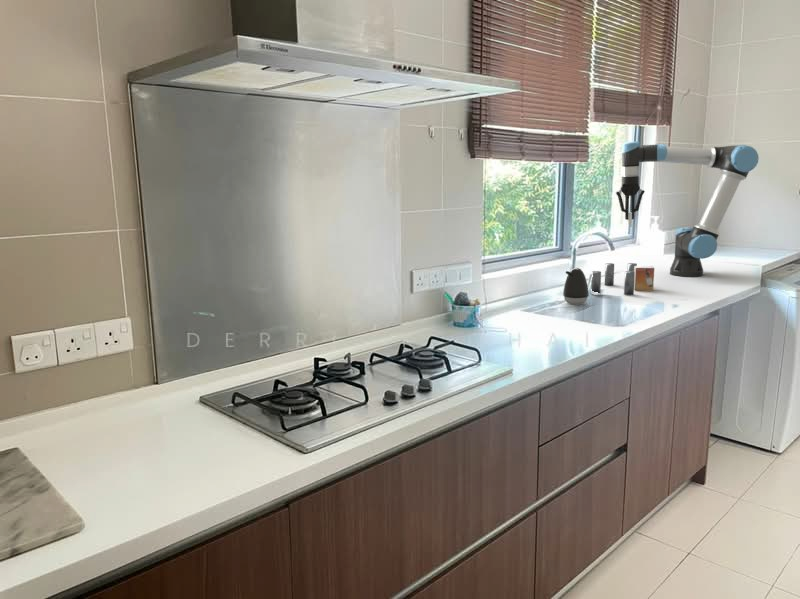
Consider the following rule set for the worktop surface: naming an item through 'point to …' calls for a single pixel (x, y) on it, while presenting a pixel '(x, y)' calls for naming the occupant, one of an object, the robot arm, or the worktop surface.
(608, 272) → the spacer field
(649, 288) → the small box
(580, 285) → the pump dispenser
